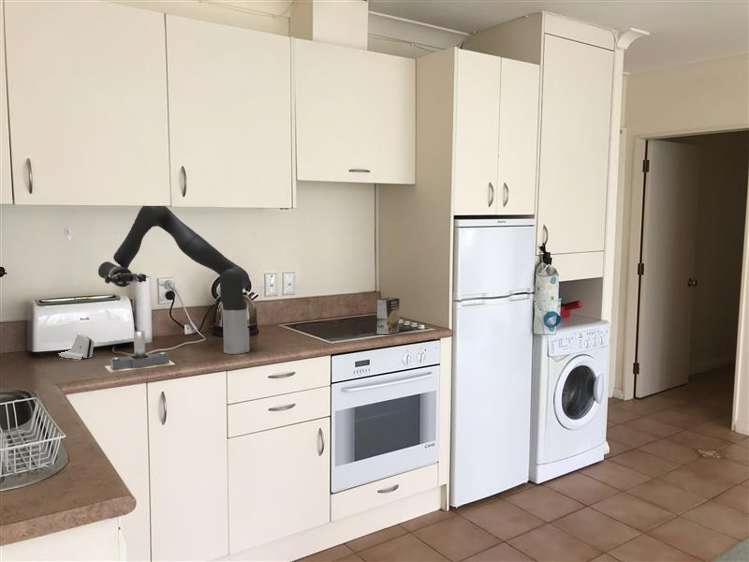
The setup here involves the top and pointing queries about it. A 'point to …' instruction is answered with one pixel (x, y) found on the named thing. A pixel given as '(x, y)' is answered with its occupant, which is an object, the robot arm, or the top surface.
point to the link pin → (139, 344)
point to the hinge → (79, 348)
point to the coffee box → (387, 315)
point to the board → (137, 368)
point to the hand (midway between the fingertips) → (129, 280)
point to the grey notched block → (139, 361)
